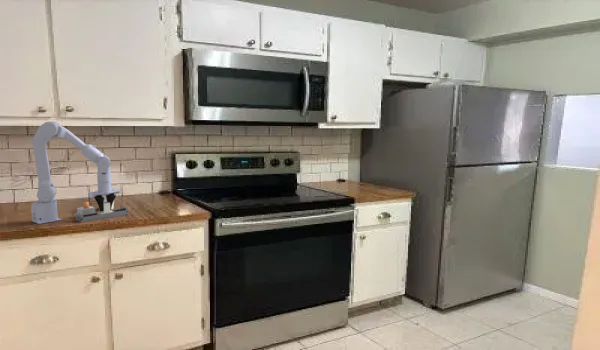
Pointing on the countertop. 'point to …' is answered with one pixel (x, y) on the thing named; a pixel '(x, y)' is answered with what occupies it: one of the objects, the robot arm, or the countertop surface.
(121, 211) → the rail
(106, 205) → the carriage
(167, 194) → the countertop surface
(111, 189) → the white cup
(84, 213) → the white hollow block
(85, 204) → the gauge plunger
